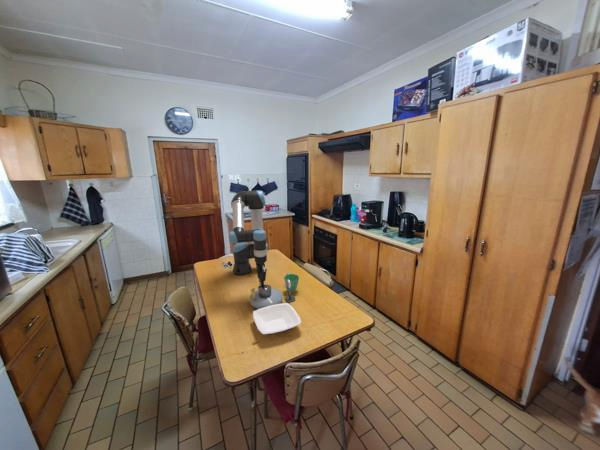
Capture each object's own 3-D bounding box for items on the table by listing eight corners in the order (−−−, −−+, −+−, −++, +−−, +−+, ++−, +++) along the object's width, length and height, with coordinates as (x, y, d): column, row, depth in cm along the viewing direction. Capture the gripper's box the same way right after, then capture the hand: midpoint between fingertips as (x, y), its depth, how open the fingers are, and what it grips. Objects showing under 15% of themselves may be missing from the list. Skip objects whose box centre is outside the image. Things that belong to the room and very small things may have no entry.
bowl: (261, 347, 114) (261, 336, 112) (250, 319, 135) (250, 310, 133) (304, 333, 122) (304, 323, 121) (288, 309, 143) (288, 300, 142)
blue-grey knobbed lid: (245, 297, 154) (244, 283, 151) (274, 288, 163) (273, 276, 161) (256, 313, 137) (255, 298, 135) (287, 302, 147) (287, 288, 144)
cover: (256, 293, 153) (256, 286, 151) (268, 290, 157) (268, 283, 155) (261, 299, 146) (260, 291, 145) (273, 295, 150) (273, 288, 149)
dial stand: (284, 299, 154) (284, 279, 151) (291, 297, 156) (291, 277, 153) (288, 302, 150) (287, 282, 146) (295, 300, 152) (294, 280, 149)
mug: (300, 293, 161) (300, 279, 159) (286, 295, 158) (286, 281, 156) (294, 283, 175) (294, 270, 172) (281, 285, 172) (281, 272, 170)
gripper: (251, 253, 152) (253, 286, 158) (258, 259, 141) (260, 295, 148) (262, 250, 156) (263, 284, 162) (270, 257, 145) (271, 292, 151)
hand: (262, 289), depth 155 cm, fingers closed
